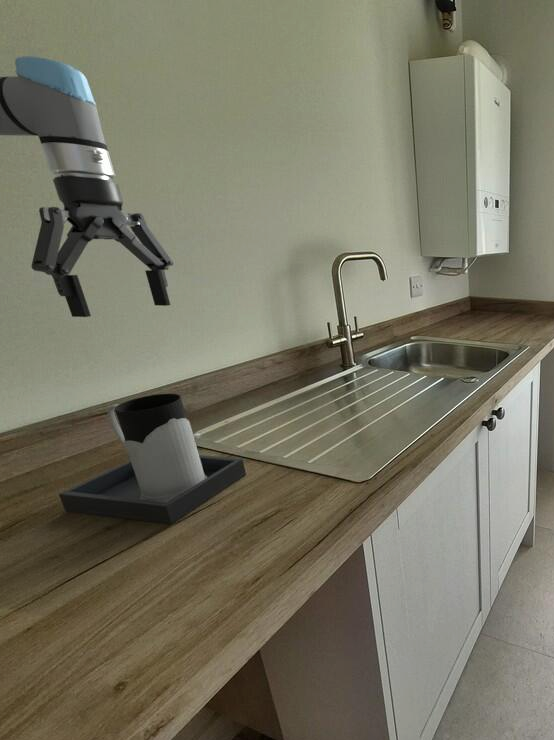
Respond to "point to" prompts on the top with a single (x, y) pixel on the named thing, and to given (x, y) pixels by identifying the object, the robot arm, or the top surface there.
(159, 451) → the black and white mug
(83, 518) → the top surface
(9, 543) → the top surface
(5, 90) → the robot arm
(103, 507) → the tray
